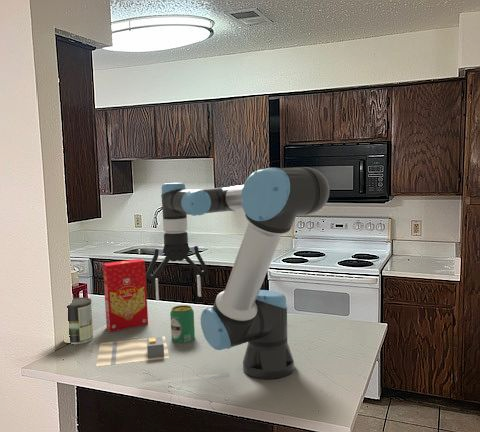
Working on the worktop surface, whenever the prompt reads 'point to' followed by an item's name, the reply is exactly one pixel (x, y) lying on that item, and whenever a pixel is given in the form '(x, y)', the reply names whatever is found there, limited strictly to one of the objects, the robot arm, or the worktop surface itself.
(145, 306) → the food packaging
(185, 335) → the beverage can
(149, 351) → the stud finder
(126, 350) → the beige flat sheet
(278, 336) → the robot arm
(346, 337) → the worktop surface
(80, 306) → the coffee can
